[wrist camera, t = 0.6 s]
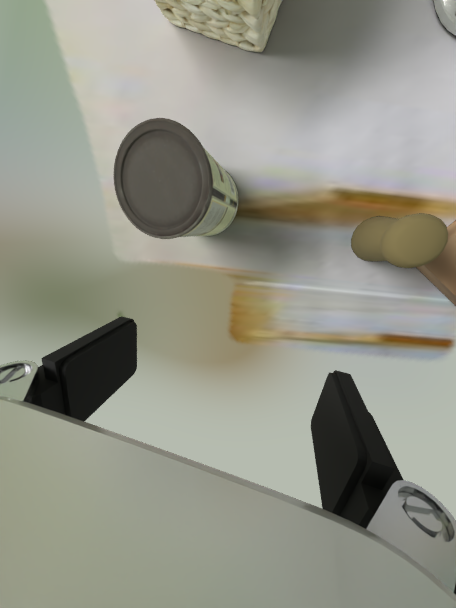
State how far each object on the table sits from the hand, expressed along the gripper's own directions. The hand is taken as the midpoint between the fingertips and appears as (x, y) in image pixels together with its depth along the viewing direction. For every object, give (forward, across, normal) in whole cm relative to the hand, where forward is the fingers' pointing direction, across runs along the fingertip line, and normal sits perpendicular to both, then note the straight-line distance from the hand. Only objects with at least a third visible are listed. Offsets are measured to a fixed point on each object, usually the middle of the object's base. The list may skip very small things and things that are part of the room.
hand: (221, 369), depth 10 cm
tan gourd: (+27, -14, -7) cm, 31 cm away
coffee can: (+27, +11, -9) cm, 31 cm away
